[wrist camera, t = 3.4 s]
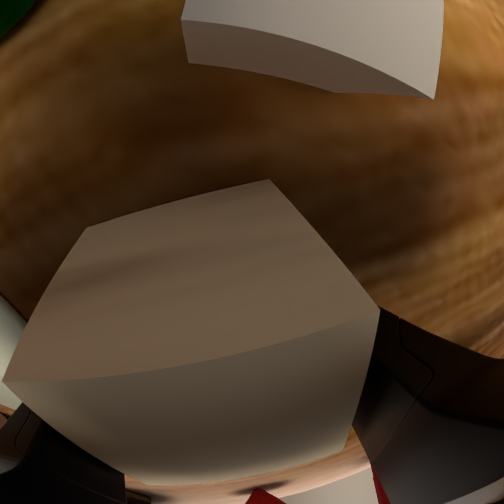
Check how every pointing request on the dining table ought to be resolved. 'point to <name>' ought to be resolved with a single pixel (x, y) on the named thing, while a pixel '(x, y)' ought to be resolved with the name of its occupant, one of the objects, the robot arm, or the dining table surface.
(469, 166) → the dining table surface
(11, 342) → the coaster
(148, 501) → the ceramic jug
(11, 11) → the soda can
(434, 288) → the dining table surface
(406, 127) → the dining table surface
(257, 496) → the strawberry
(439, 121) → the dining table surface
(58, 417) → the maple block
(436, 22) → the cream block
